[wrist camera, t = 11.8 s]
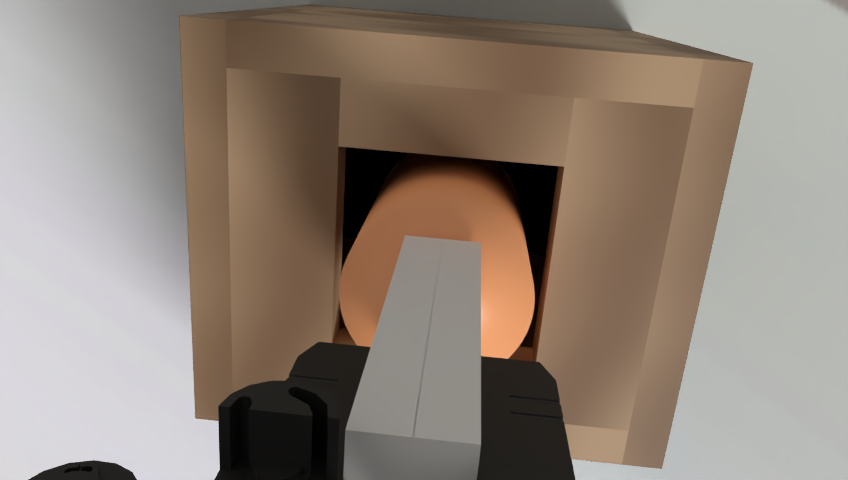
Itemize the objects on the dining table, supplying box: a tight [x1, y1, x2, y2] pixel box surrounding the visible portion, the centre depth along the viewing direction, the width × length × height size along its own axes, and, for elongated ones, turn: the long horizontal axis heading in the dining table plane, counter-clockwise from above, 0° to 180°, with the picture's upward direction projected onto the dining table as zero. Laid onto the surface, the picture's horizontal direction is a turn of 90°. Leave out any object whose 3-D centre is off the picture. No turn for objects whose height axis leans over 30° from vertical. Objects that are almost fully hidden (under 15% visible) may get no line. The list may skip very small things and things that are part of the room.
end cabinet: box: [179, 5, 753, 469], centre depth 22 cm, size 12×11×12 cm
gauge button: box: [339, 153, 535, 359], centre depth 17 cm, size 4×4×6 cm
